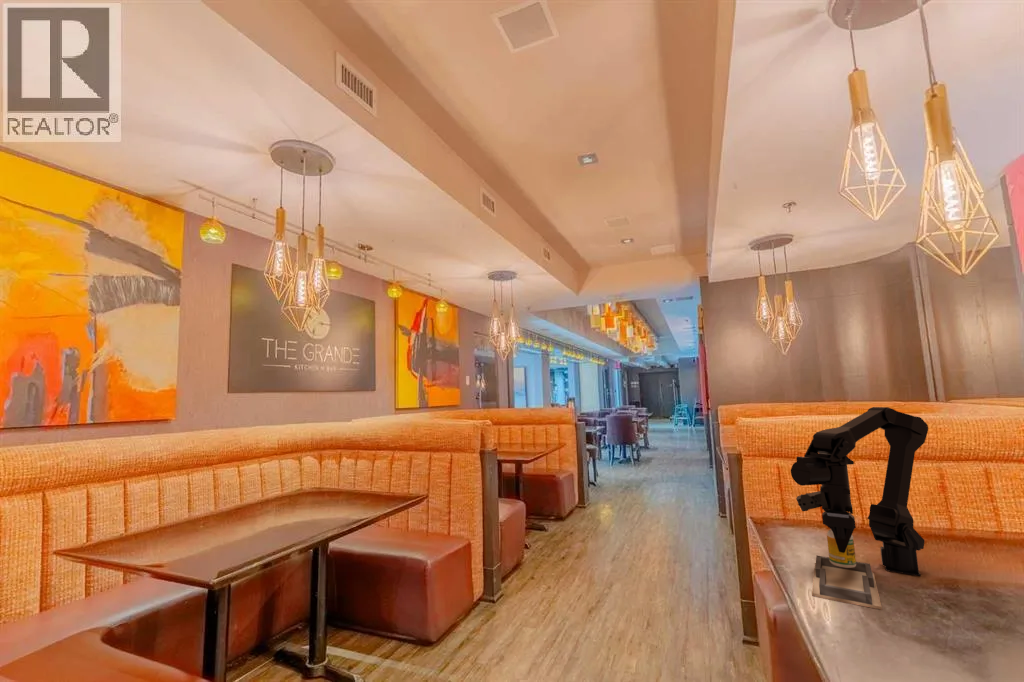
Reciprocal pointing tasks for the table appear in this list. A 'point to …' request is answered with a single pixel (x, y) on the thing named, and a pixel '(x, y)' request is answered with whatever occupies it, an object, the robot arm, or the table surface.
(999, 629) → the table surface
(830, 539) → the supplement bottle
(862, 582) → the grey flat frame
